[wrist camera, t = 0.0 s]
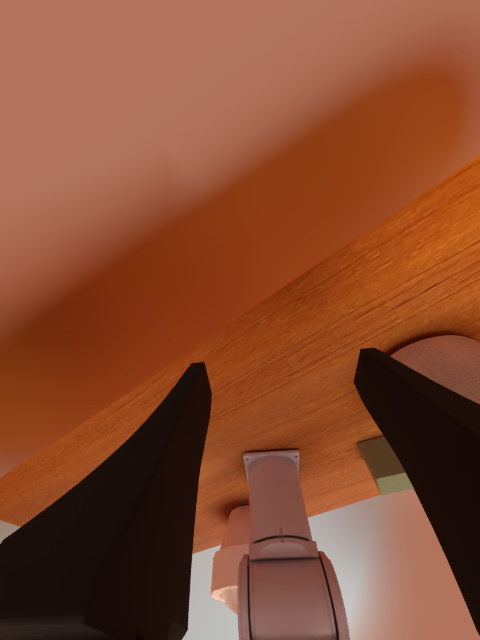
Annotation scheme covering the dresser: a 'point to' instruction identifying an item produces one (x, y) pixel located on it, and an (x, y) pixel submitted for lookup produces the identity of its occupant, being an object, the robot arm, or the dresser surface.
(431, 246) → the dresser surface
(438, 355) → the planter
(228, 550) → the potted plant
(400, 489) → the sage block
